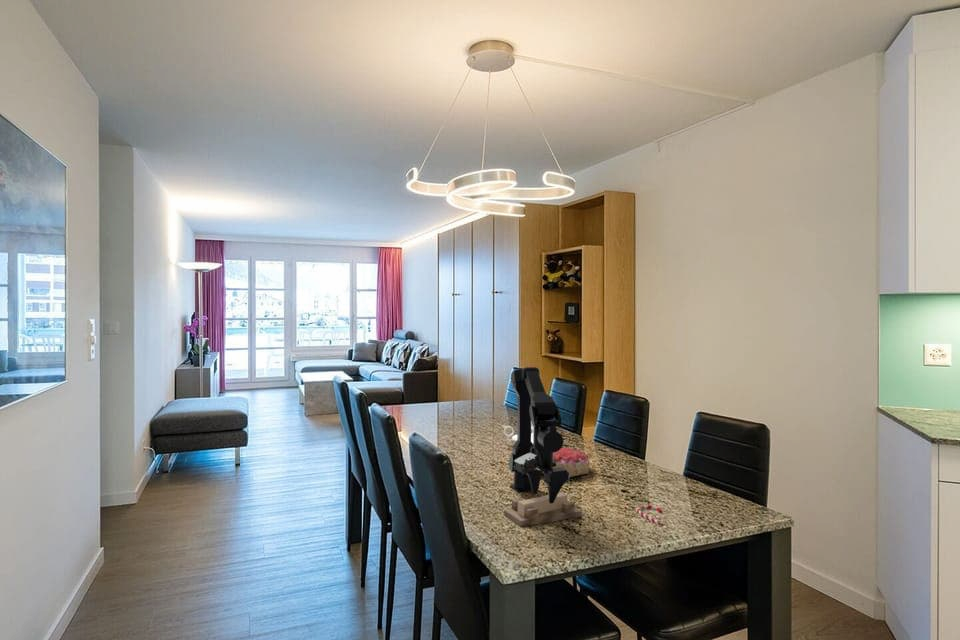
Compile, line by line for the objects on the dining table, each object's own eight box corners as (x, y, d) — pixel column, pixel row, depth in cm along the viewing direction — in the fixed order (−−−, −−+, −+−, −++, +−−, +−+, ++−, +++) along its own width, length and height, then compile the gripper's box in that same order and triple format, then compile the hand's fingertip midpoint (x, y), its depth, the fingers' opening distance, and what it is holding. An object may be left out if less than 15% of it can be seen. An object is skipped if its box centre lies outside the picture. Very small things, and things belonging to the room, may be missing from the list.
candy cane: (649, 522, 158) (631, 504, 173) (649, 527, 158) (631, 509, 173) (677, 522, 159) (657, 504, 174) (677, 527, 159) (657, 508, 174)
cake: (515, 473, 206) (517, 451, 206) (527, 459, 230) (529, 439, 230) (586, 483, 200) (587, 460, 200) (590, 468, 224) (592, 447, 224)
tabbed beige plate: (520, 526, 157) (520, 511, 157) (504, 514, 166) (504, 501, 166) (582, 516, 165) (582, 502, 165) (563, 505, 175) (563, 492, 174)
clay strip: (524, 517, 160) (524, 504, 160) (517, 513, 163) (517, 501, 163) (567, 506, 169) (567, 494, 169) (560, 503, 172) (560, 492, 171)
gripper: (503, 440, 171) (503, 492, 171) (535, 454, 154) (534, 512, 154) (536, 437, 175) (536, 488, 175) (570, 450, 158) (570, 506, 158)
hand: (543, 498), depth 166 cm, fingers open, 9 cm apart
